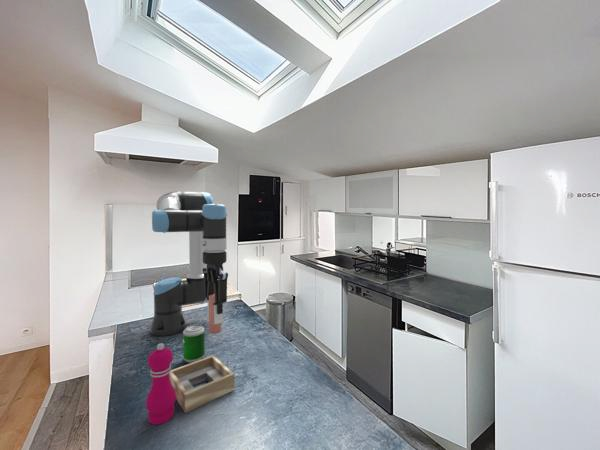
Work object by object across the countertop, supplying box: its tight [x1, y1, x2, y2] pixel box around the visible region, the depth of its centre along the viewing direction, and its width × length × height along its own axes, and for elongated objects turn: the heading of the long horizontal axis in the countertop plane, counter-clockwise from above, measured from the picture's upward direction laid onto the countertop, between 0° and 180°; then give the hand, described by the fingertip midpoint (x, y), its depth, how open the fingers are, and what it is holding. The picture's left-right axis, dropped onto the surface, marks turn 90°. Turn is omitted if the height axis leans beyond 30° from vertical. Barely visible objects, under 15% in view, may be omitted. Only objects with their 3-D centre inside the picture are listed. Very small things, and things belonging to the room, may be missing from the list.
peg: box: [208, 294, 223, 335], centre depth 91 cm, size 4×4×12 cm
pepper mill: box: [145, 342, 177, 425], centre depth 74 cm, size 7×7×20 cm
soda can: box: [182, 323, 206, 364], centre depth 103 cm, size 8×8×12 cm
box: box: [169, 354, 235, 413], centre depth 86 cm, size 15×15×5 cm
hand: (215, 320), depth 91 cm, fingers closed on peg, 4 cm apart
